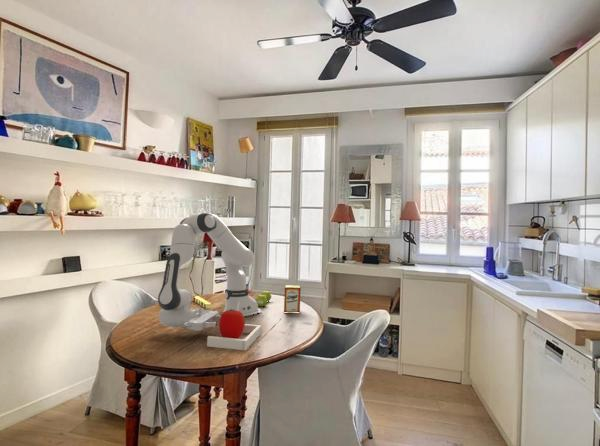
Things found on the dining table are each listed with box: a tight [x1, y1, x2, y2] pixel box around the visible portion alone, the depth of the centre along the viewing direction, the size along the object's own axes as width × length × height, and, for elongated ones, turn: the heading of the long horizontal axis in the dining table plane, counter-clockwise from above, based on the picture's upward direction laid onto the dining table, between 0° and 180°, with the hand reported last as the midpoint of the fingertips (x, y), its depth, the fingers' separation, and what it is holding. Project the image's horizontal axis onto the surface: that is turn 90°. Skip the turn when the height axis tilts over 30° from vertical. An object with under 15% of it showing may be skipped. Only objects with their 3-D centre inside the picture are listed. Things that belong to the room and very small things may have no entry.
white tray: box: [206, 323, 262, 351], centre depth 152 cm, size 18×22×4 cm
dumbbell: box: [254, 290, 272, 307], centre depth 220 cm, size 16×8×7 cm, turn 172°
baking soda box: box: [283, 284, 301, 313], centre depth 202 cm, size 10×6×16 cm
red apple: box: [218, 309, 246, 339], centre depth 152 cm, size 13×11×14 cm
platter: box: [193, 295, 212, 310], centre depth 211 cm, size 32×32×3 cm
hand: (220, 321), depth 153 cm, fingers open, 8 cm apart
